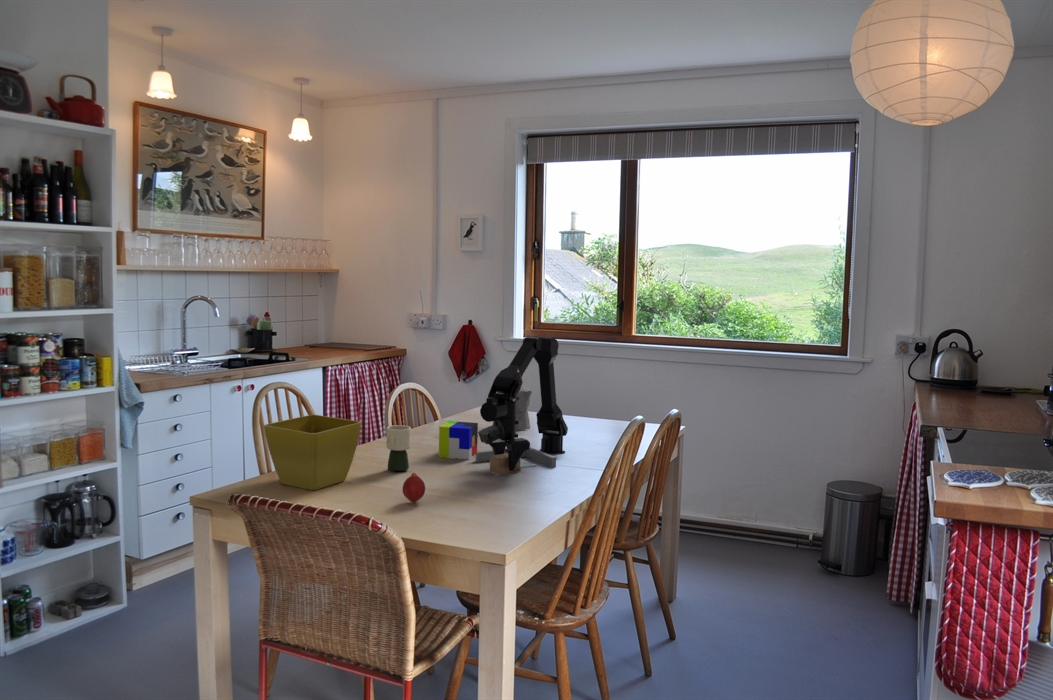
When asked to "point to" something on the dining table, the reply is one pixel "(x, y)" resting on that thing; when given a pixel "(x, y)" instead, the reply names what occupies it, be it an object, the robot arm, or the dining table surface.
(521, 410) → the coffeepot
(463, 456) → the puzzle toy
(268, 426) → the flower pot
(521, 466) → the mat
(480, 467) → the dining table surface
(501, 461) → the walnut block
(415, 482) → the onion
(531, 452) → the grey angle bracket
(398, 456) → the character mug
